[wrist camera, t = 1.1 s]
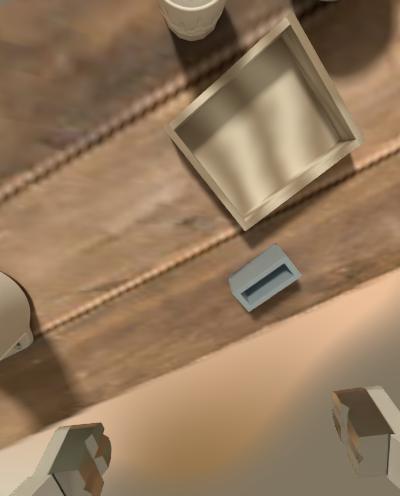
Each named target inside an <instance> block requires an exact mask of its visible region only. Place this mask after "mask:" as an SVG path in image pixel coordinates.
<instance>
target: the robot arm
mask: <svg viewBox="0 0 400 496" xmlns="http://www.w3.org/2000/svg"><path fill="white" fill-rule="evenodd" d="M33 340H34V339H33V334H32V332H31V329H30V306H29V303H28V300H27V298H26V296H25V294H24V292H23V291H22V290H21V288H20V287H19V286H18V285H17V284H16V283H15V282H14V281H13V280H12V279H11V278H9V277H8V276H6V275H5V274H3V273H2V272H0V361H1V360H3V359H5V358H7V357H9V356H11V355H13V354H15V353H17V352H19V351H21V350H23V349H25V348H27V347H28V346H29V345H30V344H32V343H33ZM18 342H19V343H18ZM332 401H333V403H334V405H335V407H334V408H333V409H332V411H333V419H334V423H335V427H336V430H337V432H338V435H339V437H340V439H341V441H342V442H343V443H345V444H346V445H347V446H348V457H349V459H350V461H351V463H352V465H353V467H354V470H355V472H356V474H357V476H358V478H363V477H377V476H388V478H389V479H390V480H391V481H392V482H393V483H394V484H395V485H396V486H397V487H398V488H400V411H399V410H398V409H397V407H396V406H395V405H394V403H393V402H392V400H391V399H390V398H389V397H388V395H387V394H386V392H385V391H384V390H383V388H382V387H380V386H371V387H364V388H362V387H361V388H354V389H347V390H340V391H334V392H333V393H332ZM103 432H104V427H103V425H102V423H91V424H81V425H72V426H64V427H59V428H58V429H57V430H56V431H55V433H54V435H53V437H52V439H51V441H50V443H49V445H48V447H47V449H46V451H45V453H44V455H43V457H42V458H41V460H40V462H39V464H38V466H37V468H36V470H35V472H34V474H33V476H32V477H28V478H27V479H26V480H25V481H24V482H23V483H22V484H21V485H20V486H19V487H18V488H17V489H16V490H14V491H13V492H12V493H11V494H10V495H9V496H100V494H101V491H102V487H103V484H104V481H103V478H102V475H103V474H104V472H105V471H106V470H107V469H108V467H109V463H110V459H111V443H110V440H109V438H108V437H107V436H105V435H104V434H103Z"/></svg>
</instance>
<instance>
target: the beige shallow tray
mask: <svg viewBox="0 0 400 496" xmlns="http://www.w3.org/2000/svg"><path fill="white" fill-rule="evenodd" d="M164 130H165V131H166V132H167V134H168V135H169V136H170V137H171V139H172V140H173V141H174V142H175V144H176V145H177V146H178V147H179V149H180V150H181V151H182V152H183V154H184V155H185V156H186V157H187V159H188V160H189V161H190V163H191V164H192V165H193V166H194V168H195V169H196V170H197V171H198V173H199V174H200V175H201V176H202V178H203V179H204V180H205V181H206V183H207V184H208V185H209V186H210V188H211V189H212V190H213V192H214V193H215V194H216V195H217V197H218V198H219V199H220V200H221V202H222V203H223V204H224V205H225V207H226V208H227V209H228V210H229V212H230V213H231V214H232V215H233V217H234V218H235V219H236V221H237V222H238V223H239V224H240V226H241V227H242V228H243V229H244V231H246V230H248V229H249V228H250V227H252V226H253V225H254V224H256V223H257V222H258V221H260V220H261V219H262V218H264V217H265V216H266V215H268V214H269V213H270V212H272V211H273V210H274V209H276V208H277V207H278V206H280V205H281V204H282V203H284V202H285V201H286V200H288V199H289V198H290V197H292V196H293V195H294V194H296V193H297V192H298V191H300V190H301V189H302V188H304V187H305V186H306V185H307V184H309V183H310V182H311V181H313V180H314V179H315V178H317V177H318V176H319V175H321V174H322V173H323V172H325V171H326V170H327V169H329V168H330V167H331V166H333V165H334V164H335V163H337V162H338V161H339V160H341V159H342V158H343V157H345V156H346V155H347V154H349V153H350V152H351V151H353V150H354V149H355V148H357V147H358V146H359V145H361V144H362V143H363V142H365V139H364V137H363V135H362V133H361V132H360V130H359V128H358V126H357V125H356V123H355V121H354V119H353V117H352V116H351V114H350V112H349V110H348V109H347V107H346V105H345V103H344V101H343V100H342V98H341V96H340V94H339V93H338V91H337V89H336V87H335V85H334V84H333V82H332V80H331V78H330V77H329V75H328V73H327V71H326V69H325V68H324V66H323V64H322V62H321V61H320V59H319V57H318V55H317V53H316V52H315V50H314V48H313V46H312V45H311V43H310V41H309V39H308V37H307V36H306V34H305V32H304V30H303V28H302V27H301V25H300V23H299V21H298V20H297V18H296V16H295V14H294V12H293V11H292V12H291V13H290V14H289V15H287V16H286V17H285V18H284V19H283V20H282V21H281V22H280V23H279V24H278V25H277V26H275V27H274V28H273V29H272V30H271V31H270V32H269V33H268V34H267V35H266V36H264V37H263V38H262V39H261V40H260V41H259V42H258V43H257V44H256V45H255V46H254V47H252V48H251V49H250V50H249V51H248V52H247V53H246V54H245V55H244V56H243V57H241V58H240V59H239V60H238V61H237V62H236V63H235V64H234V65H233V66H232V67H231V68H229V69H228V70H227V71H226V72H225V73H224V74H223V75H222V76H221V77H220V78H218V79H217V80H216V81H215V82H214V83H213V84H212V85H211V86H210V87H209V88H208V89H206V90H205V91H204V92H203V93H202V94H201V95H200V96H199V97H198V98H197V99H195V100H194V101H193V102H192V103H191V104H190V105H189V106H188V107H187V108H186V109H185V110H183V111H182V112H181V113H180V114H179V115H178V116H177V117H176V118H175V119H174V120H172V121H171V122H170V123H169V124H168V125H167V126H166V127H165V128H164Z"/></svg>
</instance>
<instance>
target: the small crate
mask: <svg viewBox="0 0 400 496" xmlns="http://www.w3.org/2000/svg"><path fill="white" fill-rule="evenodd" d="M301 276H302V275H301V274H300V273H299V272H298V270H297V269H296V268H295V266H294V265H293V264H292V262H291V261H290V260H289V258H288V257H287V256H286V255H285V253H284V252H283V251H282V250H281V248H280V247H279V246H278V245H277V244H276V243H275V244H274V245H272V246H271V247H269V248H268V249H267V250H265V251H264V252H263V253H261V254H260V255H258V256H257V257H256V258H254V259H253V260H252V261H250V262H249V263H247V264H246V265H245V266H243V267H242V268H240V269H239V270H238V271H236V272H235V273H234V274H232V275H231V276H229V277H228V279H229V282H230V286H231V290H232V294H233V295H234V296H235V297H236V298H237V299H238V300H239V301H240V303H241V304H242V305H243V306H244V307H245V308H246V309H247V311H248V312H250V311H251V310H253V309H254V308H256V307H257V306H259V305H260V304H262V303H263V302H264V301H266V300H267V299H269V298H270V297H272V296H273V295H275V294H276V293H278V292H279V291H281V290H282V289H284V288H285V287H287V286H288V285H290V284H291V283H292V282H294V281H295V280H297V279H298V278H300V277H301Z"/></svg>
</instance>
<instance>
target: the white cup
mask: <svg viewBox="0 0 400 496" xmlns="http://www.w3.org/2000/svg"><path fill="white" fill-rule="evenodd" d="M156 1H157V3H158V6H159V8H160V10H161V13H162V15H163V16H164V18H165V20H166V23H167V25H168V28H169V29H170V30H171V31H172V32H173V33H174V34H175V35H176V36H178V37H179V38H181V39H184V40H188V41H191V42H192V41H196V40H200V39H204V38H205V37H206V36H207V35H208V34H210V33H211V32H212V31H213V30H214V29H215V26H216V24H217V22H218V20H219V17H220V16H221V14H222V11H223V9H224V6H225V3H226V1H227V0H156Z"/></svg>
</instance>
